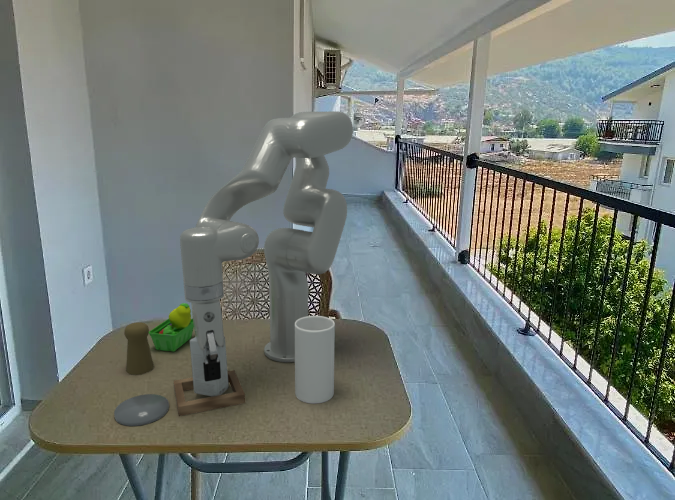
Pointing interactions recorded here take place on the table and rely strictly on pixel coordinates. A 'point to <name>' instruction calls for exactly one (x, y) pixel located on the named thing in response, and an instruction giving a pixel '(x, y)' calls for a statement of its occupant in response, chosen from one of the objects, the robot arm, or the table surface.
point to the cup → (314, 359)
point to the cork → (138, 349)
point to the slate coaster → (141, 410)
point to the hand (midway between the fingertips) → (209, 370)
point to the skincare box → (197, 361)
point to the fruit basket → (173, 329)
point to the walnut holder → (209, 402)
